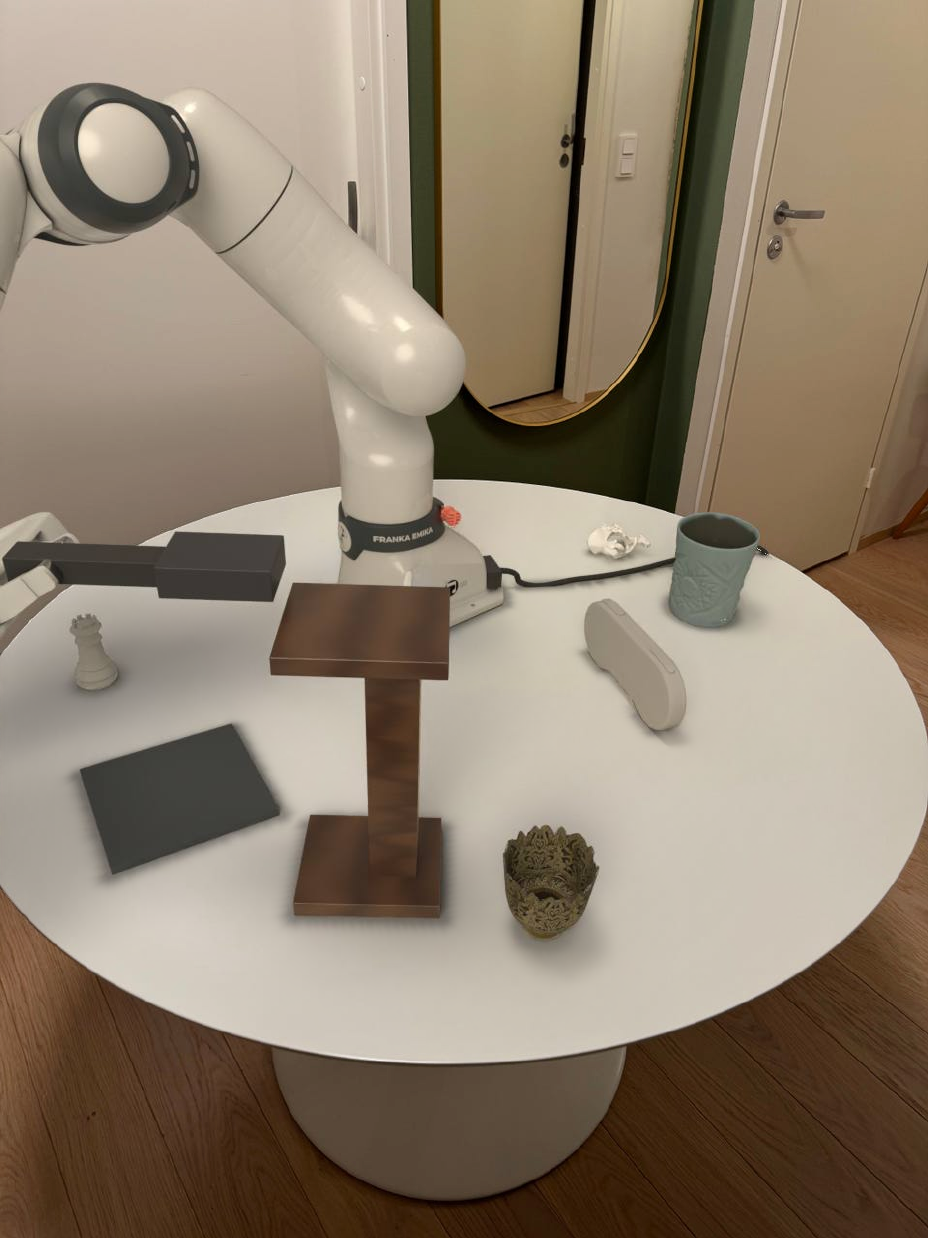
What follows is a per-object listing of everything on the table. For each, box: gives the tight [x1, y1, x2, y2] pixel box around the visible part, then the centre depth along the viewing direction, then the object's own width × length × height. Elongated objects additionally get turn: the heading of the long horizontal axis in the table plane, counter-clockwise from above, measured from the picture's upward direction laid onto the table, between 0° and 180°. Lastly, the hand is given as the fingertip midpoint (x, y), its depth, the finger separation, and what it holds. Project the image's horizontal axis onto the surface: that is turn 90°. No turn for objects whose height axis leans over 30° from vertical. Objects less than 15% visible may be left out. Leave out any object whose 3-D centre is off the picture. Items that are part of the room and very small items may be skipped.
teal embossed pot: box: [667, 511, 761, 628], centre depth 112 cm, size 10×10×12 cm
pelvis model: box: [586, 522, 651, 560], centre depth 127 cm, size 8×4×7 cm
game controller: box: [583, 598, 687, 731], centre depth 98 cm, size 20×2×8 cm, turn 20°
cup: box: [502, 824, 600, 941], centre depth 70 cm, size 8×7×8 cm
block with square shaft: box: [2, 530, 287, 603], centre depth 63 cm, size 19×6×2 cm, turn 90°
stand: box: [268, 582, 451, 919], centre depth 69 cm, size 12×10×26 cm
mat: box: [79, 722, 280, 875], centre depth 83 cm, size 15×14×1 cm
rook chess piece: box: [68, 613, 119, 691], centre depth 95 cm, size 4×4×8 cm
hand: (64, 557), depth 62 cm, fingers closed on block with square shaft, 2 cm apart
